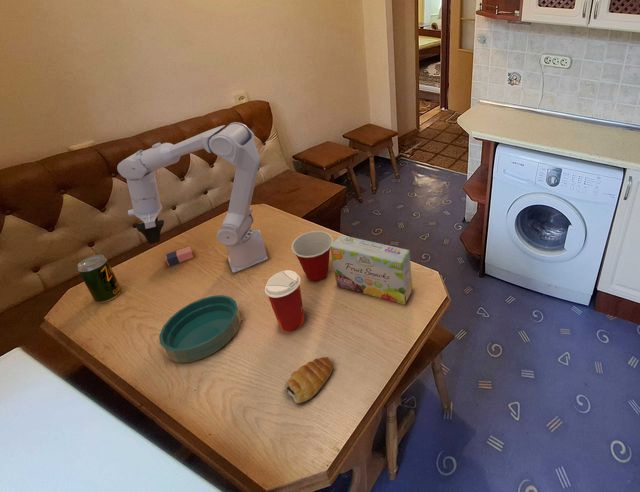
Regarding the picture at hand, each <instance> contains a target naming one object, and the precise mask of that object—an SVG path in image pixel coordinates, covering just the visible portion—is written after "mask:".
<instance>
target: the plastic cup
mask: <svg viewBox="0 0 640 492" xmlns="http://www.w3.org/2000/svg"><path fill="white" fill-rule="evenodd" d="M333 242H334V238H333V237H332V234H330V233H328V232H327V231H323V230H311V231H308V232H304V233H302V234H299V236H297V237H296V238H295V239H294V240H293V241H292V244H291V247H290V248H291V251H292V253H293V254H294V255H295V257H296V258H297V260H298V261H299V264H300V266H301V268H302V270H303V272H304V274H305V276H306V278H307V280H308V281H310V282H314V283H316V282H320V281H322V280H324V279H325V278H326V277H327V276H328V274H329V268H330V267H329V264H330V254H331V249H330V245H331V244H332V243H333Z"/></svg>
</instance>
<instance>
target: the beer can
mask: <svg viewBox="0 0 640 492" xmlns="http://www.w3.org/2000/svg"><path fill="white" fill-rule="evenodd" d="M77 271H78V274H79V275H80V277H81V279H82V281H83V282H84V284H85V286H86V288H87V290H88V291H89V293H90V295H91V297H92V299H93V301H94V302H96V303H98V304H105V303H108V302H111V301H113V300H114V299H116V298H117V297H119V296H120V295H121V292H122V287H121V284H120V283H119V280H118V279H117V277H116V275H115V272H114V270H113V268H112V266H111V264H110V262H109V260H108V258H107V257H105V255H103V254H95V255H91V256H88V257H86V258H84V259H82V260H81V261H80V262H79V263H77Z"/></svg>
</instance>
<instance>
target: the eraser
mask: <svg viewBox="0 0 640 492" xmlns="http://www.w3.org/2000/svg"><path fill="white" fill-rule="evenodd" d="M193 258H194V256H193V251H192V249H191V246H190V245H189V246H187V247H184V248H181V249H178V250H174V251H172V252H169V253H168V252H167V253H166V254H165V261H166V263H167V266H168V267H172V266H175V265H177V264H180V263H182V262H184V261H187V260H190V259H193Z"/></svg>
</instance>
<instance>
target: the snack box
mask: <svg viewBox="0 0 640 492" xmlns="http://www.w3.org/2000/svg"><path fill="white" fill-rule="evenodd" d="M330 254H331V260H332V264H333V269H334V271H333V272H334V276H335V281H336V286H337V287H338V288H342V289H347V290H348V291H349V290H350V291H353V292H356V293H360V294H364V295H368V296H372V297H374V298H378V299H382V300H385V301H389V302H393V303H397V304H400V305H406V303H407V301H408V300H409V298H410V296H411V295H412V294H411V293H412V292H413V283H412V282H413V281H412V266H411V265H412V264H411V251H410V249H406V248H401V247H397V246H392V245H388V244H383V243H379V242H374V241H370V240H366V239H361V238H357V237H353V236H348V235H345V234H344V235H343V234H339V236H338V237H336V238H335V240H333V243H332V244H331V245H330Z"/></svg>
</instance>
